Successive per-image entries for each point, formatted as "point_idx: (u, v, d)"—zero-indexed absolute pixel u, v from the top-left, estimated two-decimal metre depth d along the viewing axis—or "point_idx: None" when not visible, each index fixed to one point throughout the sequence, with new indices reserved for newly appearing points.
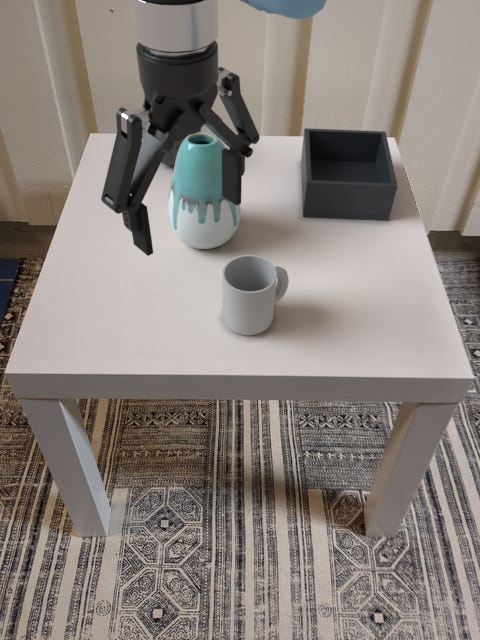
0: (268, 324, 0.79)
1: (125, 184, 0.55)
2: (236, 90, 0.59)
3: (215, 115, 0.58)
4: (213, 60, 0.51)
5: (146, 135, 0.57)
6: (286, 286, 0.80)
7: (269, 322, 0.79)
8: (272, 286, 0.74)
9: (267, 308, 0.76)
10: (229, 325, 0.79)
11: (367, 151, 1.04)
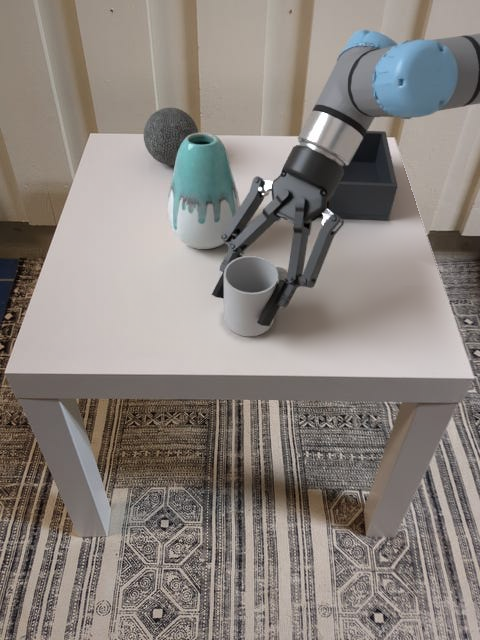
0: None
1: (234, 220, 0.77)
2: (328, 225, 0.71)
3: (301, 218, 0.72)
4: (317, 159, 0.70)
5: None
6: None
7: None
8: (274, 287, 0.74)
9: None
10: (230, 326, 0.79)
11: (367, 151, 1.04)
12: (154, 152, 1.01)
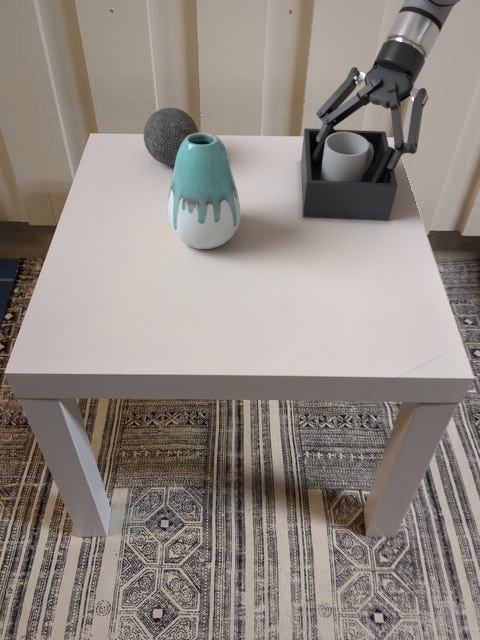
0: None
1: (330, 100, 0.97)
2: (419, 98, 0.90)
3: (395, 97, 0.91)
4: (405, 48, 0.89)
5: None
6: (371, 160, 0.99)
7: None
8: (366, 152, 0.93)
9: (360, 173, 0.95)
10: None
11: None
12: (154, 152, 1.01)
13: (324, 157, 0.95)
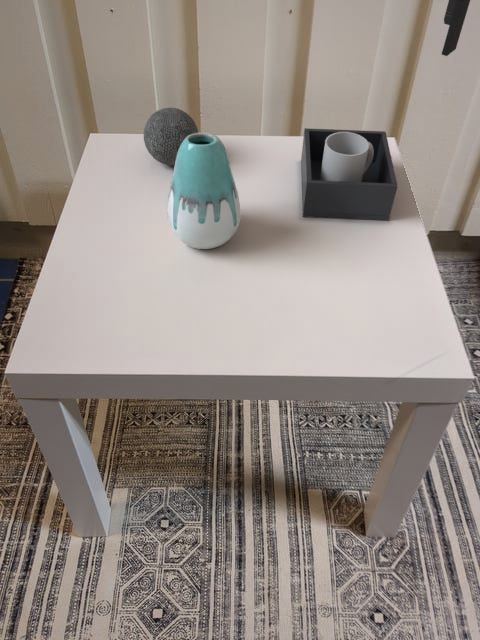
0: None
1: None
2: None
3: None
4: None
5: None
6: (371, 160, 0.99)
7: None
8: (366, 152, 0.93)
9: (360, 173, 0.95)
10: None
11: None
12: (154, 152, 1.01)
13: (324, 157, 0.95)
